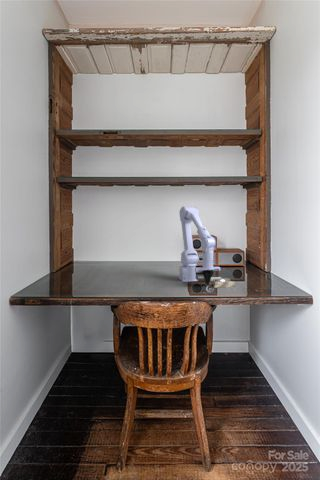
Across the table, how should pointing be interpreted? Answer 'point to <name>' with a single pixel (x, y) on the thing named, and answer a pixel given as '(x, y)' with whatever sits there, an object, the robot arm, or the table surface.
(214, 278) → the v block
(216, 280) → the axle
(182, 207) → the robot arm
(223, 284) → the parallel rails
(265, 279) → the table surface
